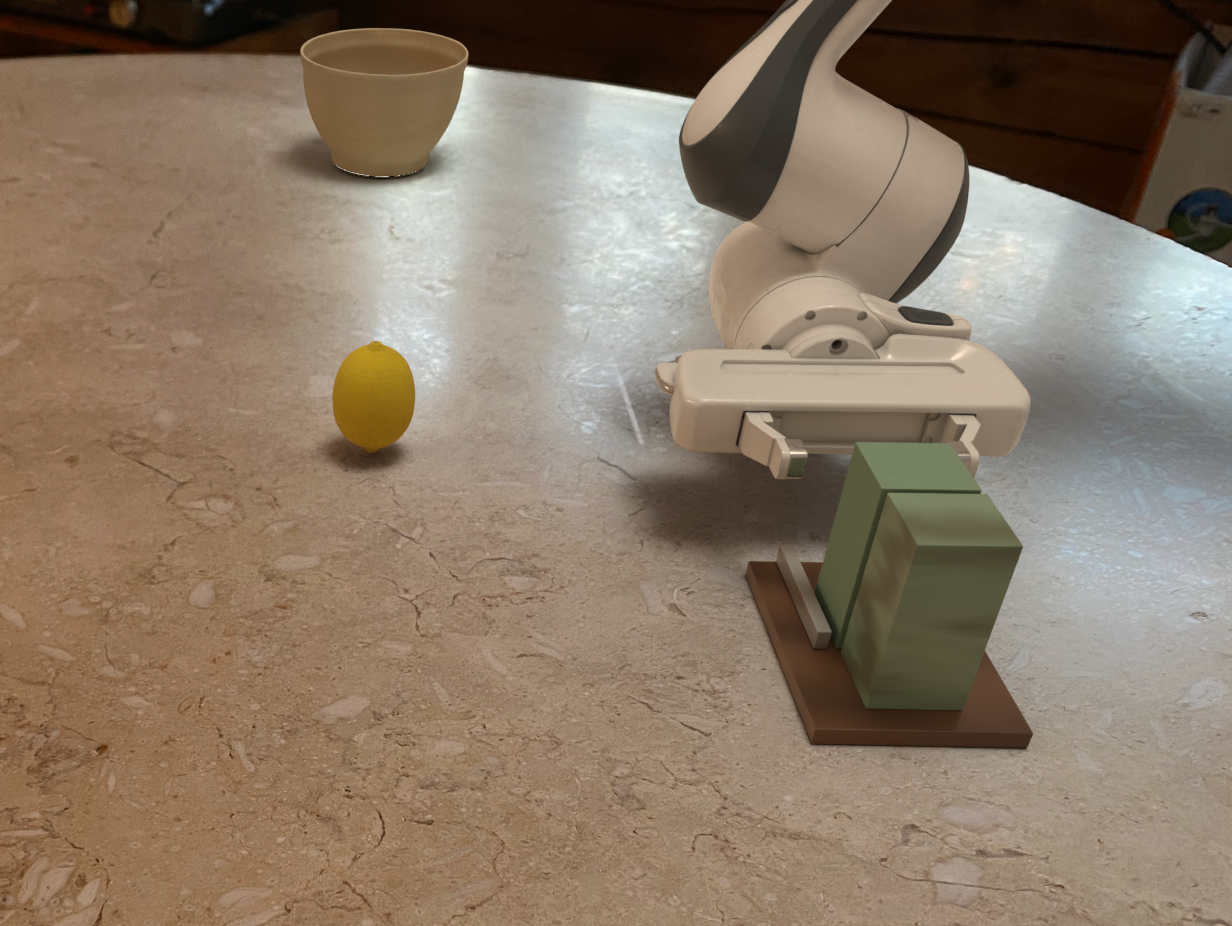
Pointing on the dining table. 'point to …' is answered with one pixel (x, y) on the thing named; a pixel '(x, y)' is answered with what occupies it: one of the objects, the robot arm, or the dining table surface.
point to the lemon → (373, 396)
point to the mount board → (844, 705)
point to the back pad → (878, 513)
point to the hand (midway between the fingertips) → (877, 469)
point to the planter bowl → (382, 95)
